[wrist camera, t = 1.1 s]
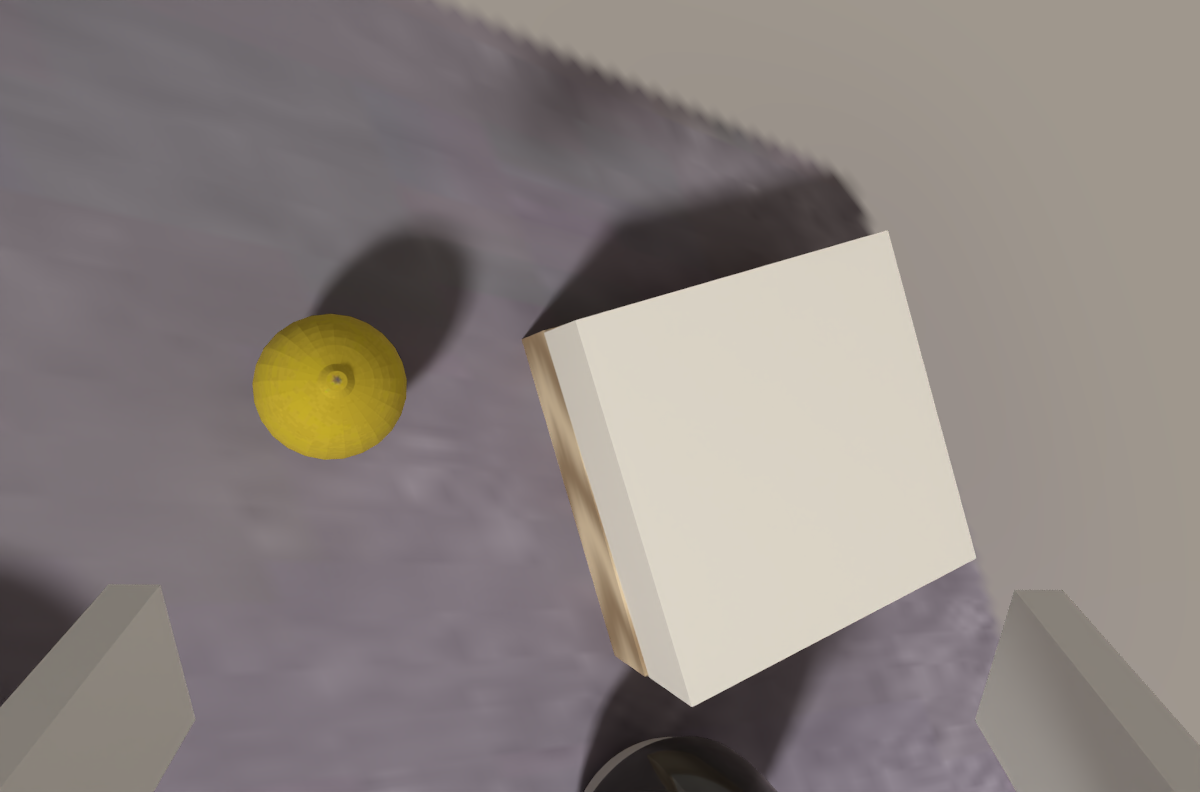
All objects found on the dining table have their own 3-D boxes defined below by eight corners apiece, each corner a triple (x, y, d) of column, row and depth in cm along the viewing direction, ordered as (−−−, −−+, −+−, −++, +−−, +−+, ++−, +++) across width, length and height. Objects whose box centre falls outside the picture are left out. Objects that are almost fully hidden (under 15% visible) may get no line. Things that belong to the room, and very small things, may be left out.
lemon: (420, 391, 35) (453, 381, 27) (327, 482, 33) (336, 498, 26) (328, 301, 33) (337, 264, 26) (227, 391, 32) (205, 379, 24)
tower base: (518, 340, 37) (543, 330, 33) (786, 266, 43) (832, 251, 39) (610, 652, 38) (645, 676, 34) (859, 539, 44) (911, 549, 40)
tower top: (543, 332, 33) (575, 320, 29) (831, 249, 39) (887, 230, 35) (649, 677, 34) (692, 707, 31) (913, 546, 40) (976, 558, 36)
